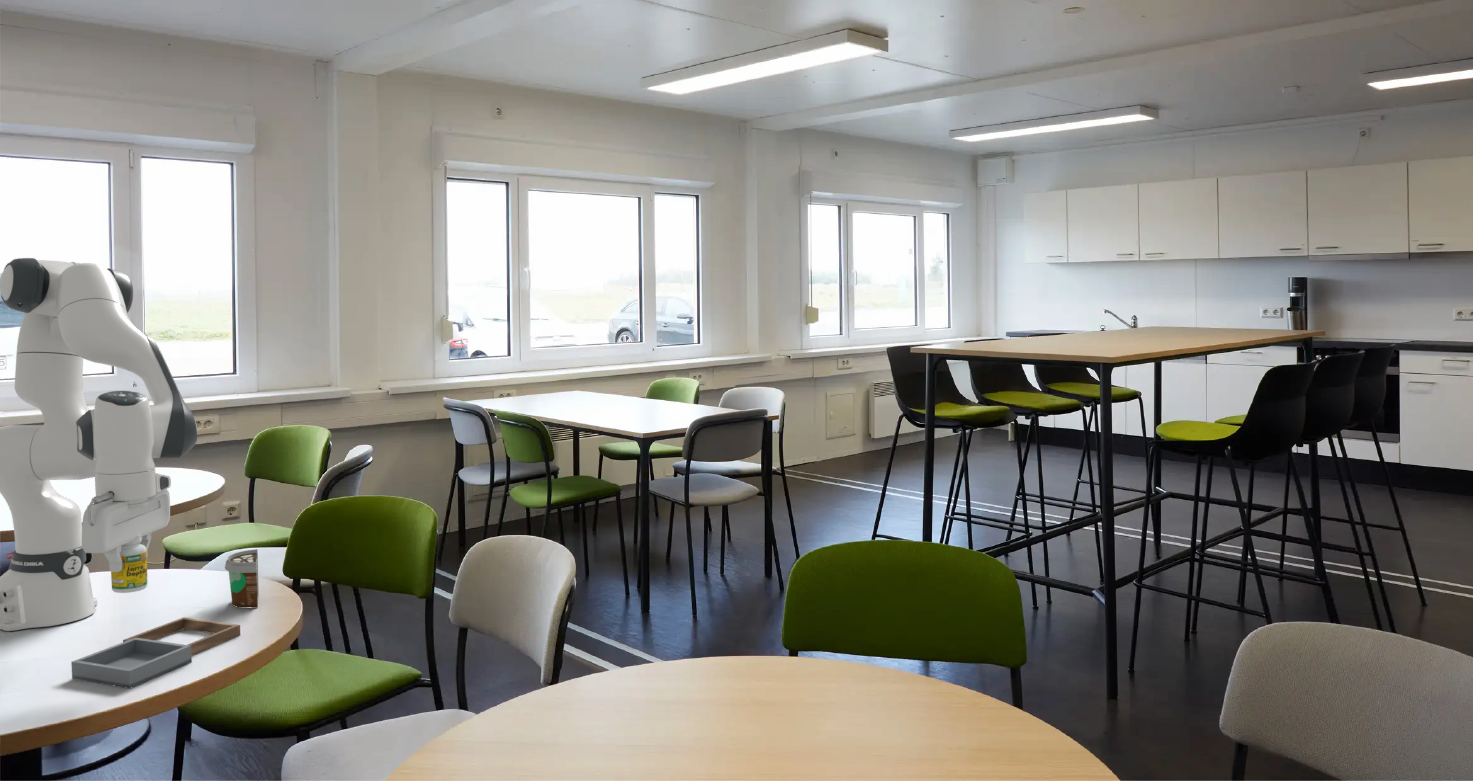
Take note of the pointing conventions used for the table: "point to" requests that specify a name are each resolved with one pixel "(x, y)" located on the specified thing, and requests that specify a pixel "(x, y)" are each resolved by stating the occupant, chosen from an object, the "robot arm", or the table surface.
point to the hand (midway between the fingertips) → (129, 565)
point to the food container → (243, 578)
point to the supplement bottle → (131, 568)
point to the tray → (131, 662)
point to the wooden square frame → (220, 629)
